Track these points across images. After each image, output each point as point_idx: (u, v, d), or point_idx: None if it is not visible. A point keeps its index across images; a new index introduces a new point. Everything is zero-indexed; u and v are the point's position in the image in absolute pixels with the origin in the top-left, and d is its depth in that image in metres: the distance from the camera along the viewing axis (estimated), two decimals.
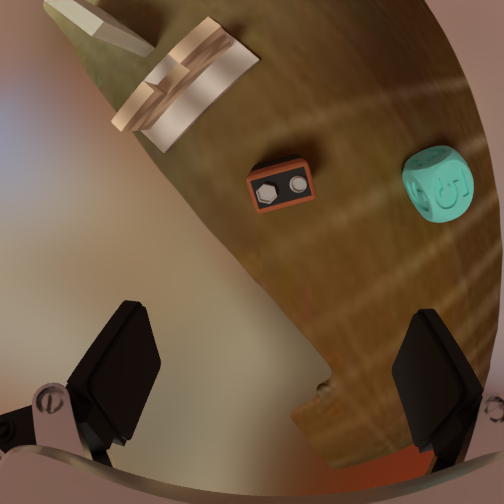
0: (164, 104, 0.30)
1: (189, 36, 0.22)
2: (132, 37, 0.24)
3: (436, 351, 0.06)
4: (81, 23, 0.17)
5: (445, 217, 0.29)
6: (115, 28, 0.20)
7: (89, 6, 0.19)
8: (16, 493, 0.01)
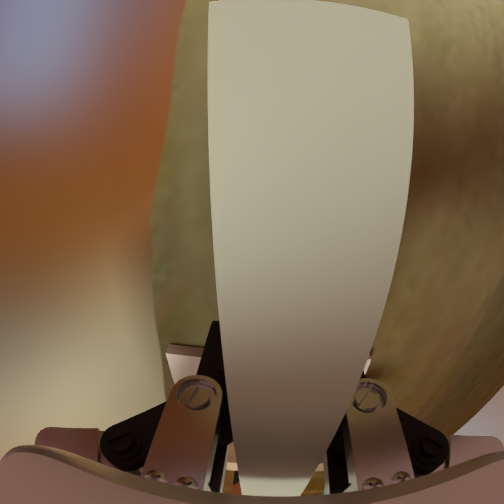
0: None
1: None
2: None
3: None
4: None
5: None
6: None
7: None
8: (16, 493, 0.01)
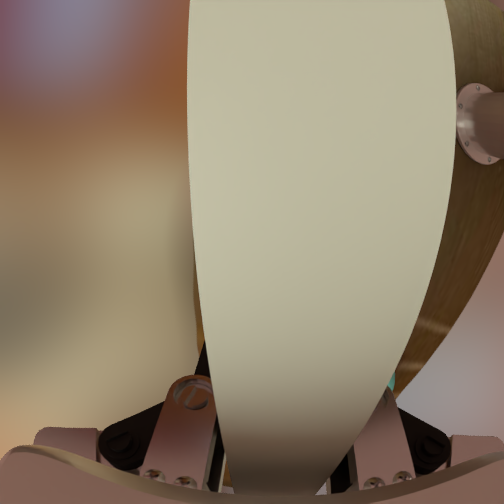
0: None
1: None
2: None
3: None
4: None
5: None
6: None
7: None
8: (16, 493, 0.01)
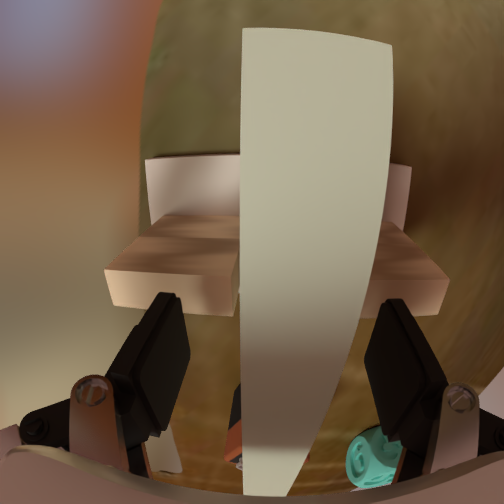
0: None
1: (394, 287, 0.11)
2: None
3: (399, 339, 0.07)
4: (253, 480, 0.08)
5: None
6: None
7: None
8: (16, 493, 0.01)
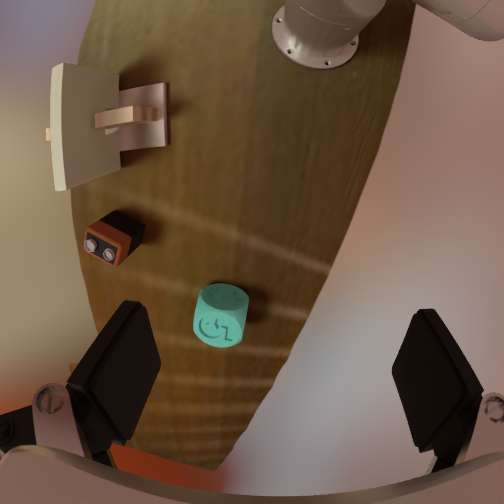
0: None
1: (112, 112, 0.29)
2: (95, 178, 0.34)
3: (436, 351, 0.06)
4: (55, 167, 0.26)
5: (201, 339, 0.44)
6: None
7: (84, 114, 0.28)
8: (16, 493, 0.01)
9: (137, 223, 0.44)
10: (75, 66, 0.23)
